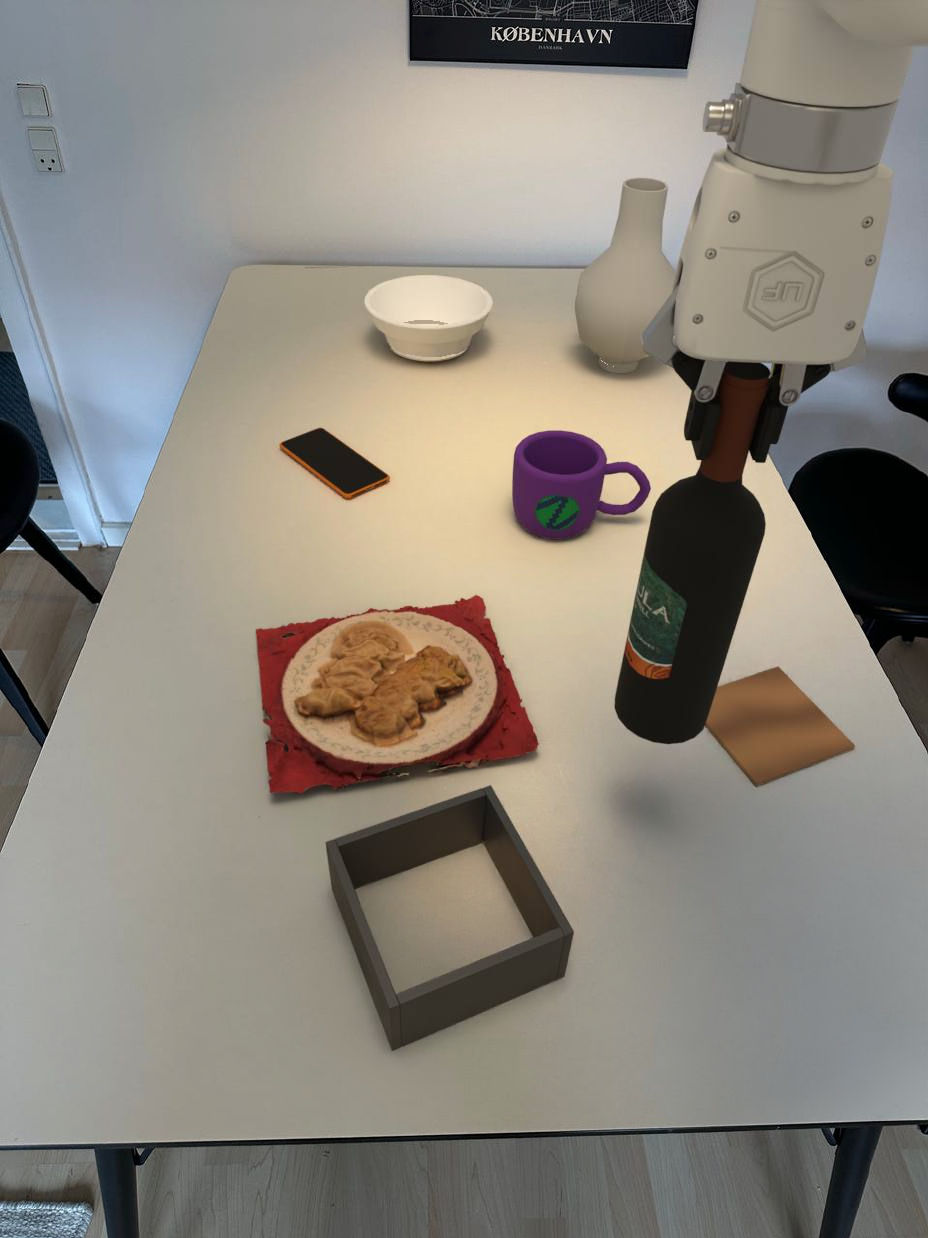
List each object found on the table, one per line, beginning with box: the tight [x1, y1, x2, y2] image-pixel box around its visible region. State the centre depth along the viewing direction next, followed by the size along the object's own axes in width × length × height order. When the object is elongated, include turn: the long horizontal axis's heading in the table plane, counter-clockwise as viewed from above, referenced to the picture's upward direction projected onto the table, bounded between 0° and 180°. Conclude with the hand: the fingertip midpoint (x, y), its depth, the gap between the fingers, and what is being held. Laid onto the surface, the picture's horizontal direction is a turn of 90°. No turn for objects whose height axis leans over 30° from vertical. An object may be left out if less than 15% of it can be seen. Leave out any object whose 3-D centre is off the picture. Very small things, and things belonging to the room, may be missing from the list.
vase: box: [574, 177, 676, 374], centre depth 140 cm, size 17×16×28 cm
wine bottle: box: [613, 361, 771, 745], centre depth 64 cm, size 8×8×30 cm
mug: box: [511, 429, 652, 540], centre depth 113 cm, size 17×11×10 cm, turn 86°
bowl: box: [363, 274, 494, 362], centre depth 150 cm, size 21×21×8 cm
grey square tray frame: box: [325, 784, 575, 1051], centre depth 72 cm, size 15×15×7 cm
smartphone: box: [278, 427, 391, 499], centre depth 125 cm, size 8×17×1 cm, turn 41°
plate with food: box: [255, 594, 540, 794], centre depth 92 cm, size 24×26×4 cm
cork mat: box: [704, 666, 856, 787], centre depth 91 cm, size 12×12×1 cm
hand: (727, 447), depth 57 cm, fingers closed on wine bottle, 2 cm apart
